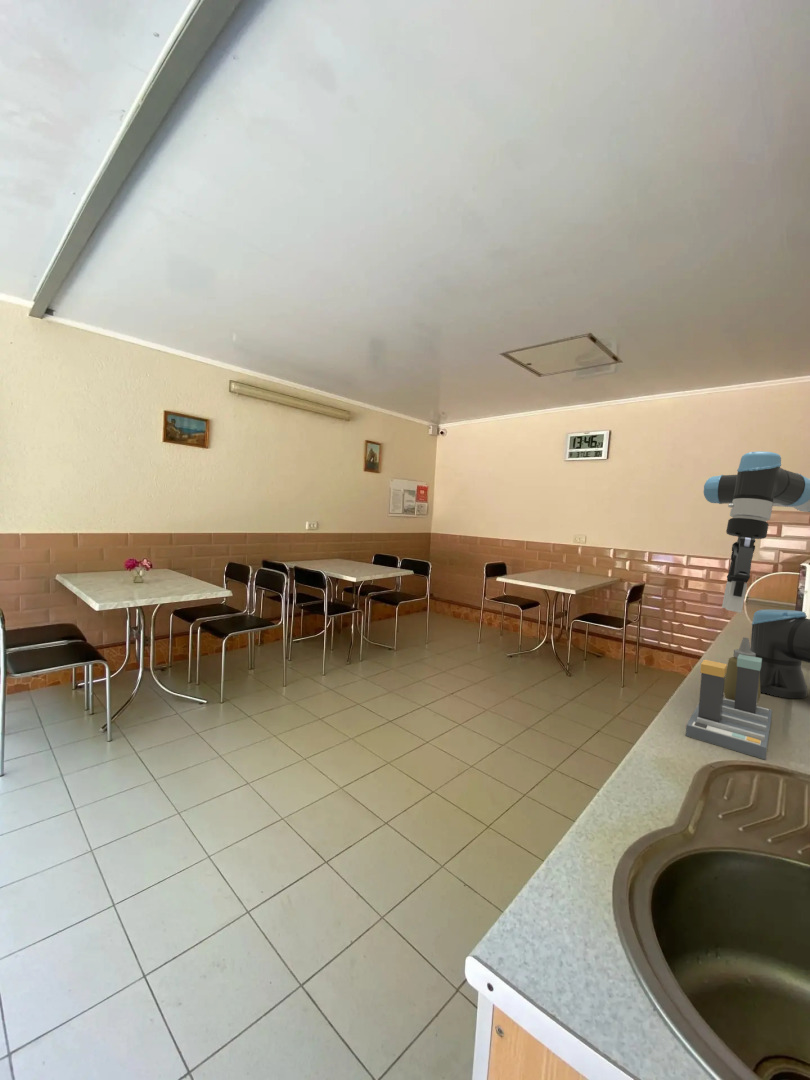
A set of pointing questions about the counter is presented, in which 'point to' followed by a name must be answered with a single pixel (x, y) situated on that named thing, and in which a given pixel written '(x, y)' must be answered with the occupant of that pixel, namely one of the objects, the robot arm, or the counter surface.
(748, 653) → the squeeze bottle
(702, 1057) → the counter surface
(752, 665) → the mint capped grey block
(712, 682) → the orange capped grey block
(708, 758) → the counter surface
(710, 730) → the console
